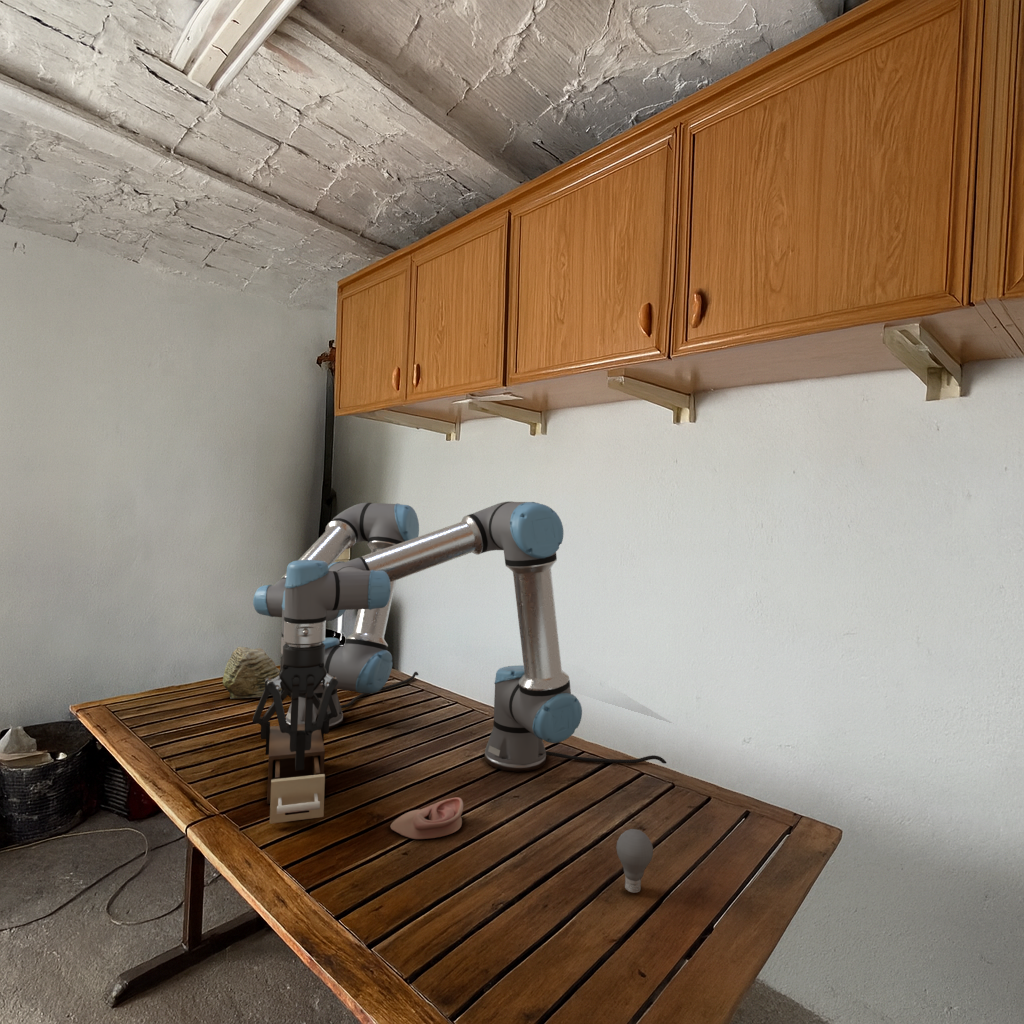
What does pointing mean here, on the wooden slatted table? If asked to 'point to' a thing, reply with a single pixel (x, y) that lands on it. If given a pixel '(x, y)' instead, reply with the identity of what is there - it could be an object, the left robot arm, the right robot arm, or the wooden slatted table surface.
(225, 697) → the wooden slatted table surface
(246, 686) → the fossil
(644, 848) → the light bulb
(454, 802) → the anatomical model
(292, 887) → the wooden slatted table surface
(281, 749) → the tall brown box
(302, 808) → the drawer
